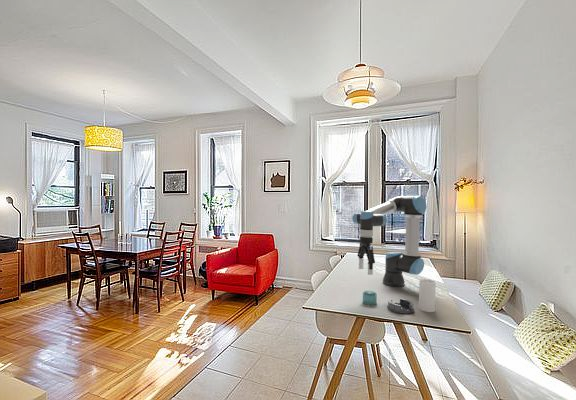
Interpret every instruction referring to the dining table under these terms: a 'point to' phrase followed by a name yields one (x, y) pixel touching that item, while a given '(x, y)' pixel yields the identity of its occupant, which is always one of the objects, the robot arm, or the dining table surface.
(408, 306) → the dark grey round bowl
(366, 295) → the cap
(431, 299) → the cup
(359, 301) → the dining table surface
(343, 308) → the dining table surface
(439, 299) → the dining table surface
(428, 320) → the dining table surface
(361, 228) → the robot arm
